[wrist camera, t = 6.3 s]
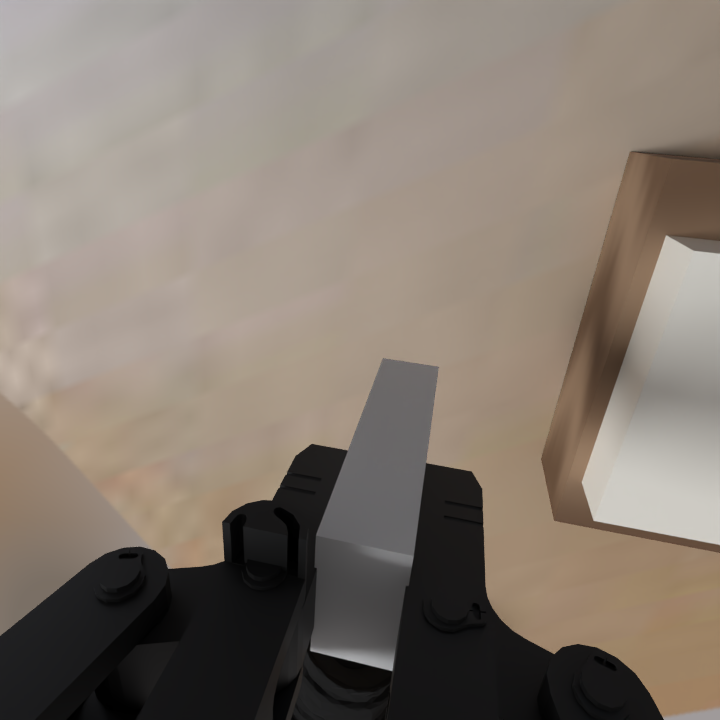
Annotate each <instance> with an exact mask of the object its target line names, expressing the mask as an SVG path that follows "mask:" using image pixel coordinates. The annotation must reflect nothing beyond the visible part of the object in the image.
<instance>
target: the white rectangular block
mask: <svg viewBox="0 0 720 720" xmlns="http://www.w3.org/2000/svg"><path fill="white" fill-rule="evenodd" d="M582 485H583V488H584V491H585V495H586V498H587V501H588V504H589V508H590V511H591V514H592V517H593V521H597V522H603V523H608V524H613V525H618V526H624V527H629V528H634V529H639V530H644V531H650V532H655V533H660V534H665V535H671V536H676V537H681V538H686V539H692V540H697V541H702V542H707V543H713V544H718V545H720V241H715V240H706V239H697V238H687V237H678V236H669V235H666V237H665V240H664V243H663V246H662V249H661V252H660V255H659V258H658V261H657V263H656V266H655V269H654V272H653V275H652V278H651V281H650V284H649V287H648V290H647V293H646V296H645V299H644V301H643V304H642V307H641V310H640V313H639V316H638V319H637V322H636V325H635V328H634V331H633V334H632V337H631V340H630V342H629V345H628V348H627V351H626V354H625V357H624V360H623V363H622V366H621V369H620V372H619V375H618V378H617V380H616V383H615V386H614V389H613V392H612V395H611V398H610V401H609V404H608V407H607V410H606V413H605V416H604V419H603V421H602V424H601V427H600V430H599V433H598V436H597V439H596V442H595V445H594V448H593V451H592V454H591V457H590V460H589V462H588V465H587V468H586V471H585V474H584V477H583V480H582Z"/></svg>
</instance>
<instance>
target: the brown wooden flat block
mask: <svg viewBox="0 0 720 720" xmlns="http://www.w3.org/2000/svg"><path fill="white" fill-rule="evenodd" d="M666 235H669V236H678V237H687V238H697V239H706V240H715V241H720V159H709V158H697V157H685V156H674V155H662V154H650V153H639V152H630V154H629V157H628V161H627V164H626V168H625V171H624V174H623V178H622V181H621V185H620V188H619V192H618V195H617V199H616V202H615V206H614V209H613V213H612V216H611V219H610V223H609V226H608V230H607V233H606V237H605V240H604V244H603V247H602V251H601V254H600V258H599V261H598V264H597V268H596V271H595V275H594V278H593V282H592V285H591V289H590V292H589V296H588V299H587V303H586V306H585V309H584V313H583V316H582V320H581V323H580V327H579V330H578V334H577V337H576V341H575V344H574V348H573V351H572V354H571V358H570V361H569V365H568V368H567V372H566V375H565V379H564V382H563V386H562V389H561V393H560V396H559V399H558V403H557V406H556V410H555V413H554V417H553V420H552V424H551V427H550V431H549V434H548V438H547V441H546V444H545V448H544V451H543V455H542V458H541V460H542V465H543V469H544V474H545V479H546V484H547V489H548V493H549V498H550V503H551V508H552V513H553V517H554V521H558V522H563V523H569V524H574V525H579V526H584V527H589V528H594V529H600V530H605V531H610V532H615V533H620V534H626V535H631V536H636V537H641V538H646V539H651V540H657V541H662V542H667V543H672V544H677V545H682V546H688V547H693V548H698V549H703V550H708V551H714V552H719V553H720V545H718V544H713V543H707V542H702V541H697V540H692V539H686V538H681V537H676V536H671V535H665V534H660V533H655V532H650V531H644V530H639V529H634V528H629V527H624V526H618V525H613V524H608V523H603V522H597V521H593V517H592V514H591V511H590V508H589V504H588V501H587V498H586V495H585V491H584V488H583V485H582V480H583V477H584V474H585V471H586V468H587V465H588V462H589V460H590V457H591V454H592V451H593V448H594V445H595V442H596V439H597V436H598V433H599V430H600V427H601V424H602V421H603V419H604V416H605V413H606V410H607V407H608V404H609V401H610V398H611V395H612V392H613V389H614V386H615V383H616V380H617V378H618V375H619V372H620V369H621V366H622V363H623V360H624V357H625V354H626V351H627V348H628V345H629V342H630V340H631V337H632V334H633V331H634V328H635V325H636V322H637V319H638V316H639V313H640V310H641V307H642V304H643V301H644V299H645V296H646V293H647V290H648V287H649V284H650V281H651V278H652V275H653V272H654V269H655V266H656V263H657V261H658V258H659V255H660V252H661V249H662V246H663V243H664V240H665V237H666Z"/></svg>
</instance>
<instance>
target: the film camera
mask: <svg viewBox="0 0 720 720" xmlns="http://www.w3.org/2000/svg"><path fill="white" fill-rule="evenodd" d="M310 648H311V639H310V642H309V645H308V648H307V651H306V655H305V658H304V661H303V673H302V683H301V687H300V691H299V694H298V697H297V701H296V704H295V707H294V711H293V714H292V717H291V720H385V715H386V709H387V703H388V697H389V691H390V684H391V677H392V671H390V670H386V669H382V668H378V667H374V666H370V665H366V664H362V663H358V662H353V661H349V660H345V659H341V658H337V657H333V656H329V655H325V654H321V653H317V652H313V651H310Z"/></svg>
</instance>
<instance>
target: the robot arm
mask: <svg viewBox="0 0 720 720" xmlns="http://www.w3.org/2000/svg"><path fill="white" fill-rule="evenodd" d="M438 368H439V367H437V366H430V365H424V364H417V363H410V362H404V361H397V360H391V359H384V358H383V360H382V362H381V365H380V368H379V370H378V373H377V376H376V378H375V381H374V384H373V386H372V389H371V391H370V394H369V397H368V399H367V402H366V405H365V407H364V410H363V413H362V415H361V418H360V421H359V423H358V426H357V428H356V431H355V434H354V436H353V439H352V442H351V444H350V447H349V450H348V451H347V450H342V449H337V448H331V447H326V446H320V445H315V444H311V445H310V446H309V447H307V448H306V449H304V450H303V451H302V452H300V453H299V454H298V455H296V456H295V458H294V460H293V462H292V464H291V466H290V468H289V470H288V471H287V475H285V477H284V479H283V481H282V483H281V485H280V488H278V490H277V492H276V494H275V496H274V498H273V500H272V501H269V500H261V501H257V502H252V503H247V504H245V505H243V506H241V507H239V508H237V509H236V510H234V511H232V512H231V513H230V514H229V515H228V516H227V517H226V519H225V520H224V521H223V522H222V526H223V542H224V559H225V561H223V562H220V563H217V564H215V565H209V566H203V567H191V568H176V569H168V568H167V564H166V561H165V559H164V558H163V557H162V556H161V555H160V554H158V553H157V552H156V551H155V550H151V549H147V548H143V547H130V548H122V549H118V550H116V551H112V552H109V553H107V554H104V555H103V556H101V557H100V558H98V559H97V560H95V561H93V562H92V563H90V564H89V565H87V566H86V567H85V568H84V569H82V570H81V571H80V572H79V573H78V574H76V575H75V576H74V577H73V578H71V579H70V580H69V581H68V582H66V583H65V584H64V585H63V586H61V587H60V588H59V589H58V590H57V591H55V592H54V593H53V594H52V595H50V596H49V597H48V598H47V599H45V600H44V601H43V602H42V603H41V604H39V605H38V606H37V607H36V608H35V609H33V610H32V611H31V612H29V613H28V614H27V615H26V616H25V617H23V618H22V619H21V620H19V621H18V622H17V623H16V624H15V625H13V626H12V627H11V628H10V629H8V630H7V631H6V632H5V633H3V634H2V635H1V636H0V720H291V717H292V714H293V711H294V707H295V704H296V701H297V697H298V694H299V691H300V687H301V683H302V673H303V661H304V658H305V655H306V651H307V648H308V645H309V642H310V639H311V648H310V651H313V652H317V653H321V654H325V655H329V656H333V657H337V658H341V659H345V660H349V661H353V662H358V663H362V664H366V665H370V666H374V667H378V668H382V669H386V670H390V671H392V677H391V684H390V691H389V697H388V703H387V709H386V715H385V720H664V719H663V717H662V715H661V714H660V712H659V710H658V708H657V706H656V704H655V702H654V701H653V699H652V697H651V695H650V693H649V692H648V690H647V689H646V688H645V686H644V685H643V683H642V682H641V681H640V679H639V678H638V677H637V675H636V674H635V673H634V672H633V671H632V670H631V669H629V668H628V667H627V666H626V665H625V664H624V663H622V662H621V661H620V660H619V659H618V658H616V657H614V656H612V655H610V654H608V653H607V652H605V651H603V650H601V649H599V648H596V647H591V646H586V645H580V644H576V645H571V646H566V647H562V648H561V649H560V650H559V651H558V652H556V653H555V654H553V653H551V652H549V651H547V650H545V649H543V648H541V647H540V646H538V645H536V644H534V643H532V642H530V641H528V640H526V639H525V638H523V637H522V636H520V635H518V634H517V633H515V632H514V631H512V630H511V629H510V628H509V627H508V626H507V625H506V624H505V623H504V622H503V621H501V619H500V618H499V617H498V615H497V614H496V613H495V611H494V610H493V609H492V606H491V604H490V602H489V600H488V598H487V593H486V587H485V560H484V529H483V511H482V509H483V499H482V488H481V486H480V485H479V483H478V481H477V480H476V478H475V476H474V475H473V473H472V472H471V471H466V470H460V469H455V468H449V467H444V466H438V465H433V464H427V463H426V459H427V451H428V444H429V436H430V429H431V421H432V414H433V406H434V398H435V391H436V383H437V376H438Z"/></svg>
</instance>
